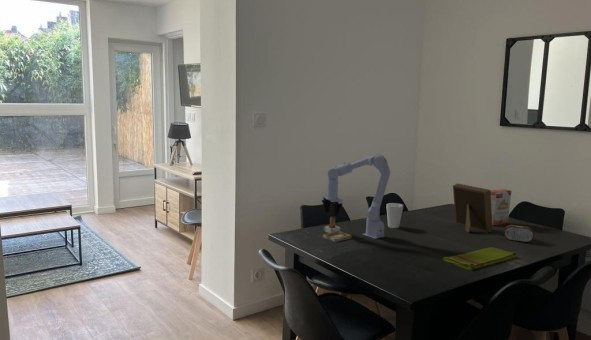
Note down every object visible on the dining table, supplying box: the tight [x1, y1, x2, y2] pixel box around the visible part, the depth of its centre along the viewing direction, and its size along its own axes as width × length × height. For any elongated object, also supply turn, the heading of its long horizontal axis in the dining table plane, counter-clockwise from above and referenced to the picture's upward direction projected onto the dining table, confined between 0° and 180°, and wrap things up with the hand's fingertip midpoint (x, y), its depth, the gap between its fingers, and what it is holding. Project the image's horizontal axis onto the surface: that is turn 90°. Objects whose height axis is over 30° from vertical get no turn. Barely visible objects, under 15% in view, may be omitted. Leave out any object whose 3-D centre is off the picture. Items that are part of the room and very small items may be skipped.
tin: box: [503, 224, 536, 243], centre depth 253 cm, size 15×3×8 cm, turn 65°
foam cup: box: [385, 202, 404, 229], centre depth 274 cm, size 10×9×13 cm
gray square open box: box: [323, 225, 342, 233], centre depth 260 cm, size 6×6×3 cm
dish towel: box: [442, 246, 518, 271], centre depth 223 cm, size 15×36×3 cm, turn 122°
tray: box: [322, 231, 353, 243], centre depth 249 cm, size 10×12×2 cm
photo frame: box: [452, 183, 493, 234], centre depth 273 cm, size 15×22×25 cm
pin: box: [329, 216, 336, 229], centre depth 260 cm, size 3×3×8 cm
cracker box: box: [489, 188, 512, 227], centre depth 287 cm, size 14×6×21 cm, turn 120°
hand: (331, 213), depth 259 cm, fingers open, 7 cm apart
